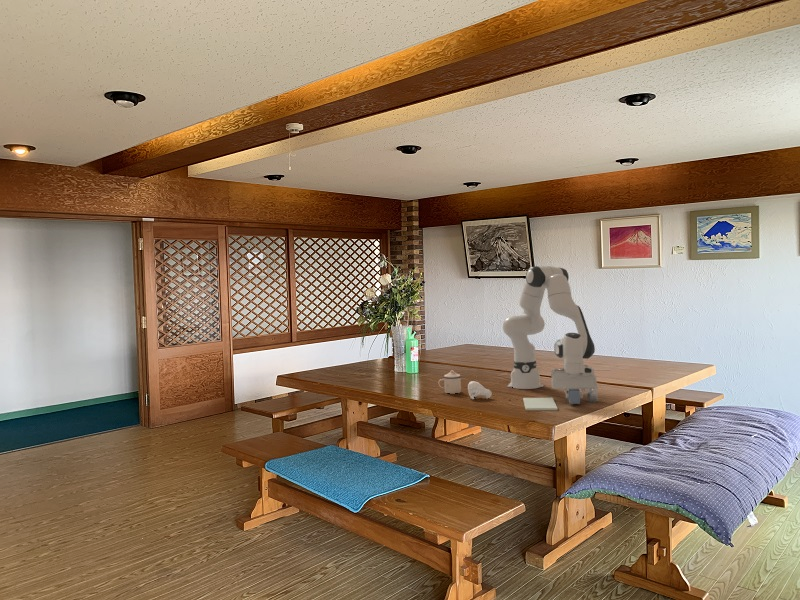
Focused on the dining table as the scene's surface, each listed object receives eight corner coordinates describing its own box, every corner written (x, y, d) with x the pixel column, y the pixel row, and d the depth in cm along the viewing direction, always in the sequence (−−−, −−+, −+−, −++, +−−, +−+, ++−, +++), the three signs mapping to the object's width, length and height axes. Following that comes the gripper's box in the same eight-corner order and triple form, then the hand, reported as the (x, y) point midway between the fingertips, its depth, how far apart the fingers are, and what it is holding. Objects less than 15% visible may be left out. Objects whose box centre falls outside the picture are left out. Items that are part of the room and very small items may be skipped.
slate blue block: (568, 401, 278) (568, 388, 278) (578, 401, 278) (578, 388, 277) (569, 403, 274) (569, 390, 274) (580, 403, 273) (579, 390, 273)
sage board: (523, 399, 291) (523, 397, 291) (552, 399, 289) (552, 397, 289) (525, 410, 269) (525, 408, 269) (557, 410, 267) (557, 408, 267)
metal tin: (586, 400, 285) (585, 385, 285) (596, 400, 284) (596, 385, 284) (587, 402, 280) (587, 387, 280) (598, 402, 279) (598, 387, 279)
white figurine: (469, 379, 302) (493, 382, 299) (468, 396, 303) (492, 399, 300) (467, 382, 296) (491, 384, 293) (466, 399, 297) (490, 401, 294)
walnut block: (566, 401, 285) (566, 390, 285) (577, 400, 285) (577, 390, 284) (568, 403, 281) (568, 392, 280) (579, 403, 280) (579, 392, 280)
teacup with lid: (461, 390, 320) (460, 369, 319) (461, 394, 311) (461, 371, 310) (438, 391, 320) (437, 369, 320) (438, 394, 311) (438, 372, 311)
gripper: (551, 369, 274) (551, 399, 274) (597, 369, 270) (598, 399, 271) (549, 367, 280) (550, 396, 280) (595, 367, 277) (595, 396, 277)
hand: (574, 397), depth 276 cm, fingers closed on slate blue block, 4 cm apart
